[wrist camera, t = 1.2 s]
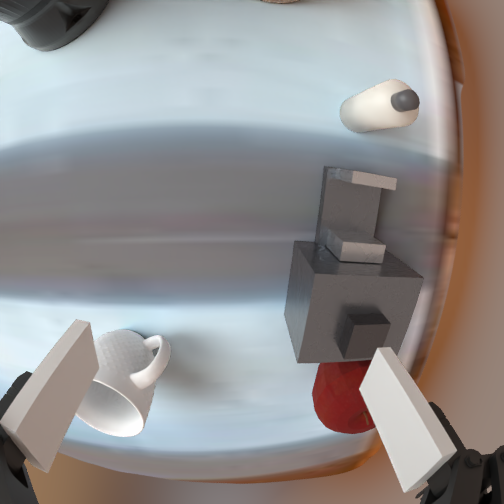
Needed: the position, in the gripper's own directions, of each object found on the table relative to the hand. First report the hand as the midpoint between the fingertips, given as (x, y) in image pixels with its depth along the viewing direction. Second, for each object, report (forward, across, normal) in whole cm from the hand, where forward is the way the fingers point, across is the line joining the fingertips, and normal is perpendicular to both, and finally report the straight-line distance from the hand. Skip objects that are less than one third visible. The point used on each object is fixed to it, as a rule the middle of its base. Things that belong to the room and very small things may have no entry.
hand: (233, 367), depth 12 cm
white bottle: (+23, +12, +16) cm, 30 cm away
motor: (+23, +13, -2) cm, 26 cm away
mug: (+23, -13, -18) cm, 32 cm away
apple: (+23, +18, -18) cm, 34 cm away
